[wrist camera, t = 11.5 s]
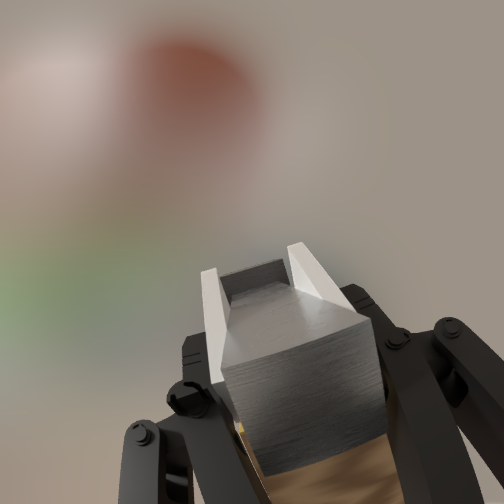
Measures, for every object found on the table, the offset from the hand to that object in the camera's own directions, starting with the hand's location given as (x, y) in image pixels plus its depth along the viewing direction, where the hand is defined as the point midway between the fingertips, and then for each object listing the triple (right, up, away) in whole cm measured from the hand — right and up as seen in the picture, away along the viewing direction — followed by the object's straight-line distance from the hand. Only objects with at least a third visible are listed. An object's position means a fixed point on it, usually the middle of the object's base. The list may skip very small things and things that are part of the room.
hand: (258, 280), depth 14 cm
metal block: (+1, -4, +2) cm, 5 cm away
